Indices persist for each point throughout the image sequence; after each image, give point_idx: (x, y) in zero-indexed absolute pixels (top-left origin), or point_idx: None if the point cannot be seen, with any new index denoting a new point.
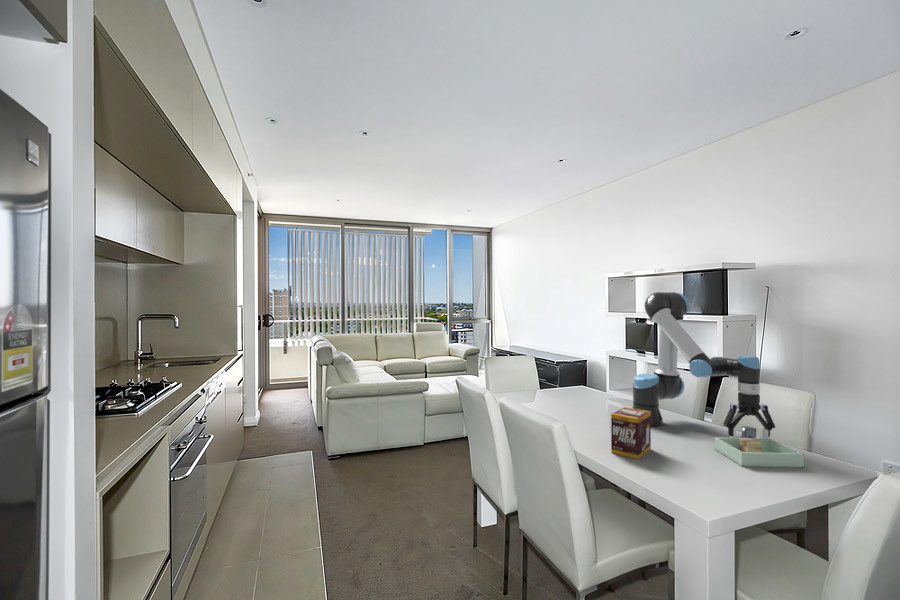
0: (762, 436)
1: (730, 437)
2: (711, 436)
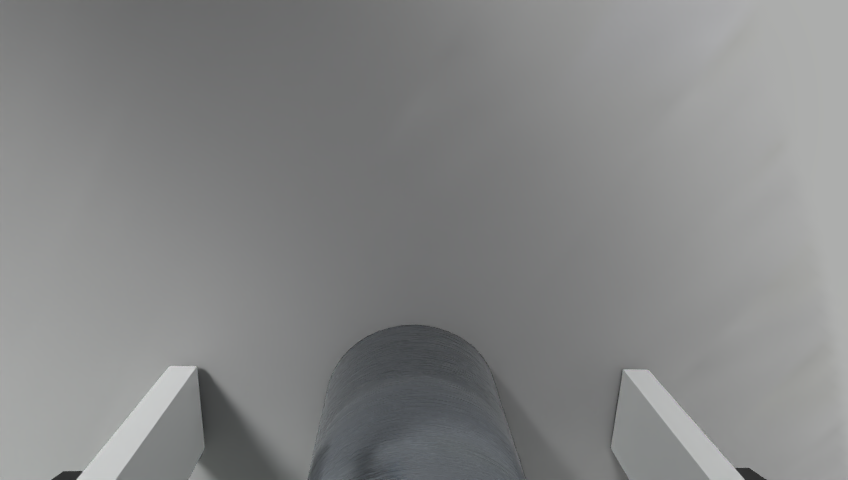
0: (674, 444)
1: (129, 423)
2: (7, 15)
